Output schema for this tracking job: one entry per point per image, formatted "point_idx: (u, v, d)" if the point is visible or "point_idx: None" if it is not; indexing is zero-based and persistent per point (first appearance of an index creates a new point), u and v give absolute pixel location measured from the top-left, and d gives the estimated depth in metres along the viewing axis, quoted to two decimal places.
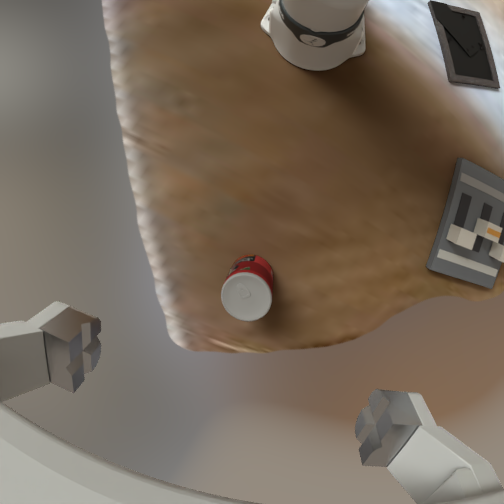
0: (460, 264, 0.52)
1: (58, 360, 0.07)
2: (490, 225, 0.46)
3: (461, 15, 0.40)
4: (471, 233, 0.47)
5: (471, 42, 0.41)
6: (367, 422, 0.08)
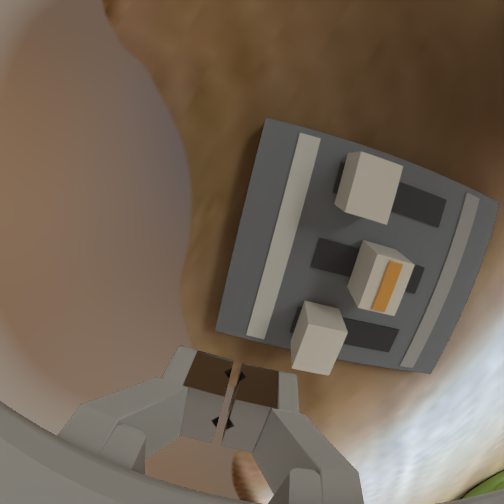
0: (280, 211, 0.24)
1: (202, 414, 0.07)
2: (406, 272, 0.20)
3: None
4: (389, 203, 0.19)
5: None
6: (233, 399, 0.08)
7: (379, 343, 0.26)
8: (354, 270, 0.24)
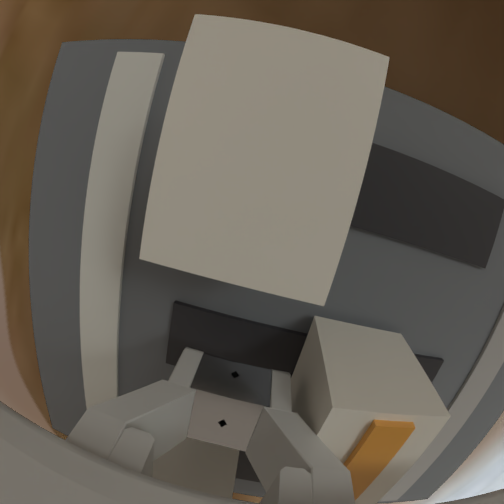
0: (86, 240, 0.10)
1: (208, 416, 0.07)
2: (421, 436, 0.06)
3: None
4: (335, 218, 0.05)
5: None
6: None
7: None
8: (291, 386, 0.10)
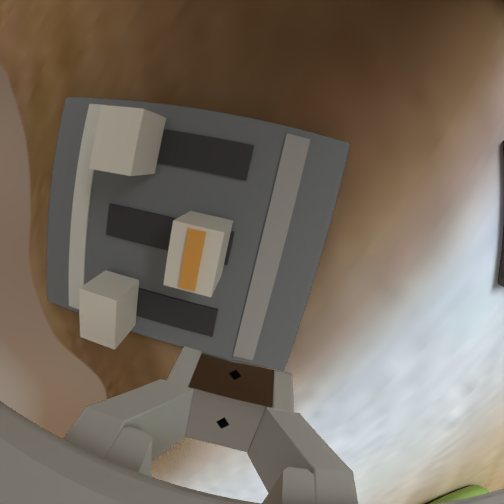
0: (77, 181, 0.22)
1: (207, 415, 0.07)
2: (214, 242, 0.18)
3: None
4: (131, 152, 0.17)
5: None
6: None
7: (196, 324, 0.24)
8: None
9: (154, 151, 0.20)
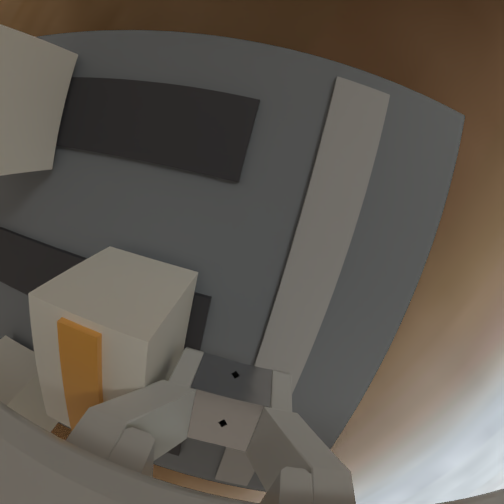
0: None
1: (209, 416, 0.07)
2: (125, 361, 0.06)
3: None
4: None
5: None
6: None
7: None
8: None
9: (43, 122, 0.08)
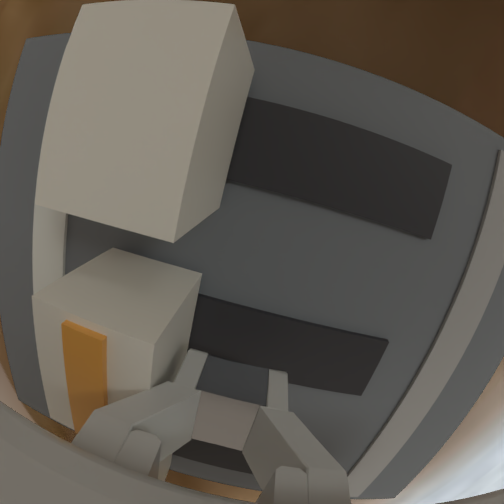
0: (38, 211, 0.10)
1: (214, 417, 0.07)
2: (130, 364, 0.06)
3: None
4: (176, 154, 0.05)
5: None
6: None
7: None
8: None
9: (227, 151, 0.08)
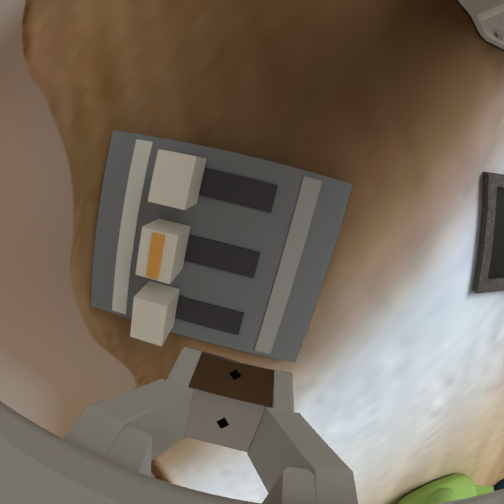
0: (125, 205, 0.28)
1: (207, 415, 0.07)
2: (171, 242, 0.24)
3: None
4: (185, 191, 0.23)
5: None
6: None
7: (226, 324, 0.30)
8: None
9: (198, 187, 0.26)
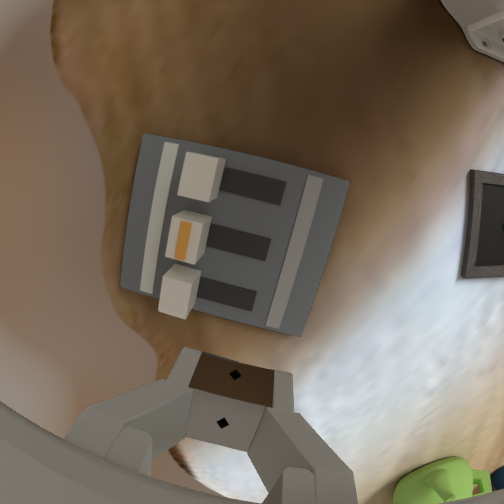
0: (154, 198, 0.33)
1: (207, 415, 0.07)
2: (196, 229, 0.29)
3: None
4: (209, 187, 0.28)
5: None
6: None
7: (240, 302, 0.35)
8: None
9: (218, 183, 0.31)
